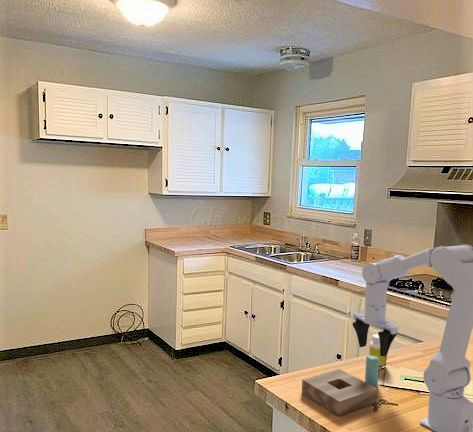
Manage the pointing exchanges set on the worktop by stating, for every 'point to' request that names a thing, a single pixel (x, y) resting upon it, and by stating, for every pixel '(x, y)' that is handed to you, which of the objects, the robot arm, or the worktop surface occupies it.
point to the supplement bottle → (377, 350)
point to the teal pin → (372, 370)
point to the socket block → (339, 392)
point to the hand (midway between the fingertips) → (372, 350)
